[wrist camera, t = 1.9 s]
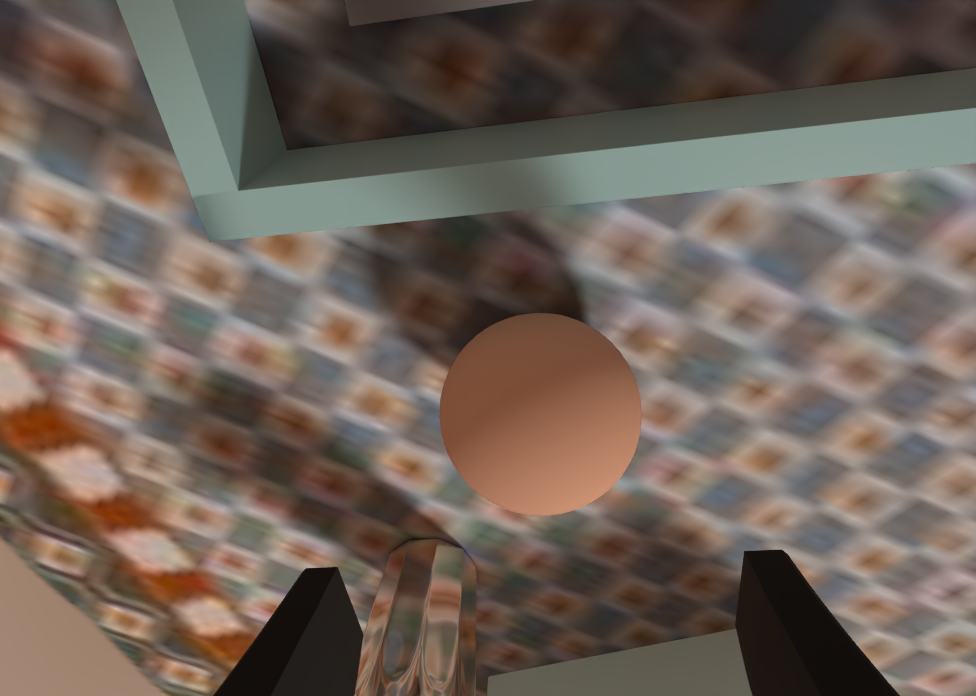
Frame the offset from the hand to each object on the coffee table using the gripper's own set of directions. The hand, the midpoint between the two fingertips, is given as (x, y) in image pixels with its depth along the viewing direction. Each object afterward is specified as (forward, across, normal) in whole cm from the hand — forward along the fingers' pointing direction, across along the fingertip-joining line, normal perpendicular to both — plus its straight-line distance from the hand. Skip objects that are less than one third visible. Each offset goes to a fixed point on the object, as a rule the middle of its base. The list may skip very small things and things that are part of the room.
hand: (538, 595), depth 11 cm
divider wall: (+8, -2, -8) cm, 11 cm away
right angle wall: (+8, -4, +20) cm, 22 cm away
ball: (+8, 0, 0) cm, 8 cm away
